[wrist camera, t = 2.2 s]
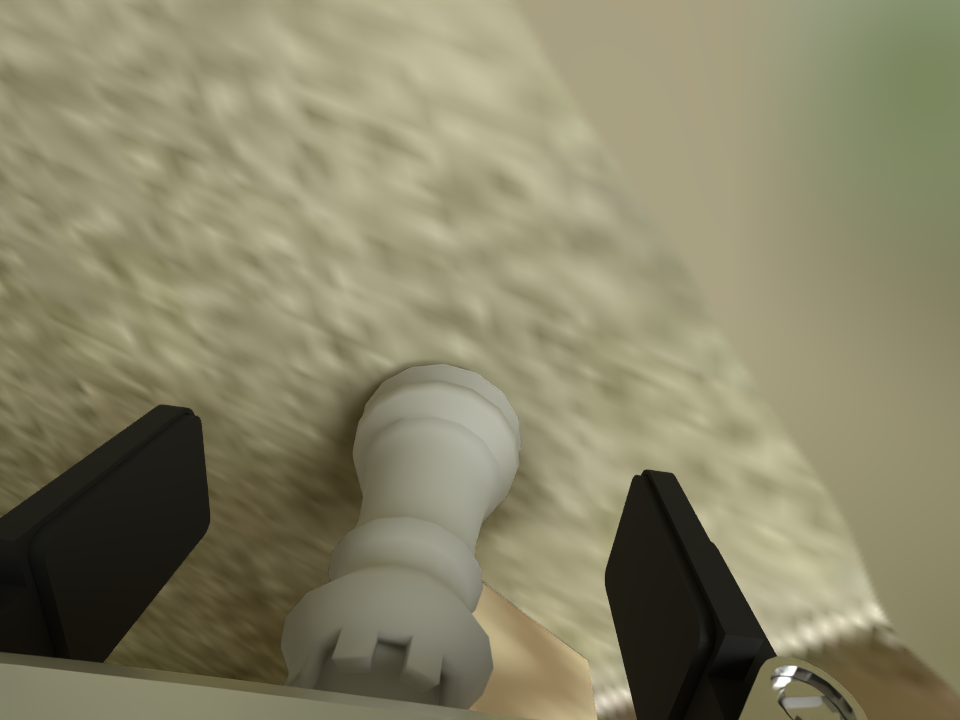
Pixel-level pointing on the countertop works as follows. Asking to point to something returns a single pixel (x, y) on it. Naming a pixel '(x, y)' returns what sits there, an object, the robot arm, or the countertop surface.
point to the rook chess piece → (412, 547)
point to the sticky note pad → (530, 667)
